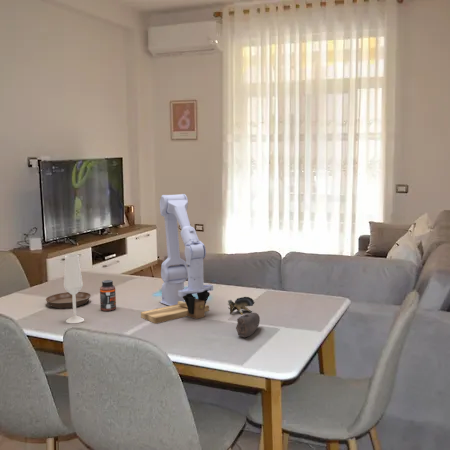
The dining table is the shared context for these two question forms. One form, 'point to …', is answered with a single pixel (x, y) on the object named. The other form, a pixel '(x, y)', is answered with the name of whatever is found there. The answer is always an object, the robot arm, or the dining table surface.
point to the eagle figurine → (240, 304)
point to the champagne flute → (73, 282)
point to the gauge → (195, 308)
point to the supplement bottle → (107, 296)
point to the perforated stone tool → (247, 324)
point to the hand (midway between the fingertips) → (196, 312)
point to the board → (167, 313)
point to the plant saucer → (67, 299)
